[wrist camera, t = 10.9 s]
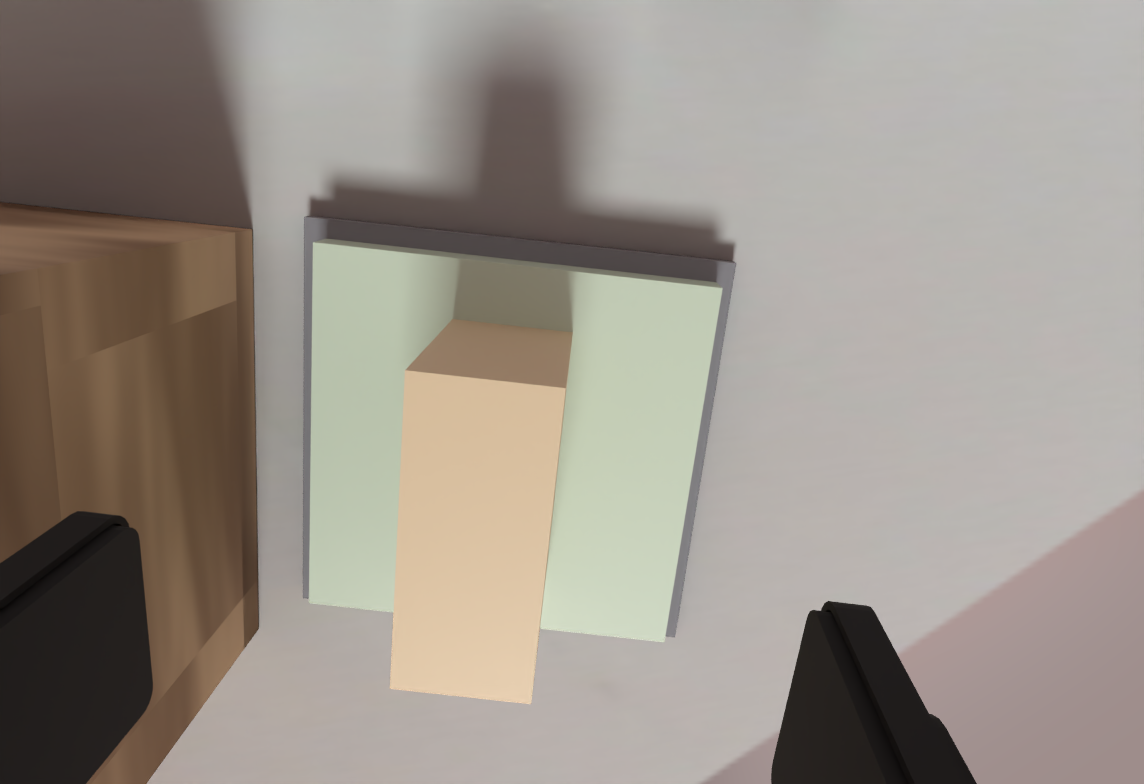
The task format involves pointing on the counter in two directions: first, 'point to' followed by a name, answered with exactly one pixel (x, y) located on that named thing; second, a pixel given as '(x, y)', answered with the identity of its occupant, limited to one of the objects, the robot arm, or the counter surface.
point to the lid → (499, 453)
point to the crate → (138, 429)
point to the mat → (536, 253)
